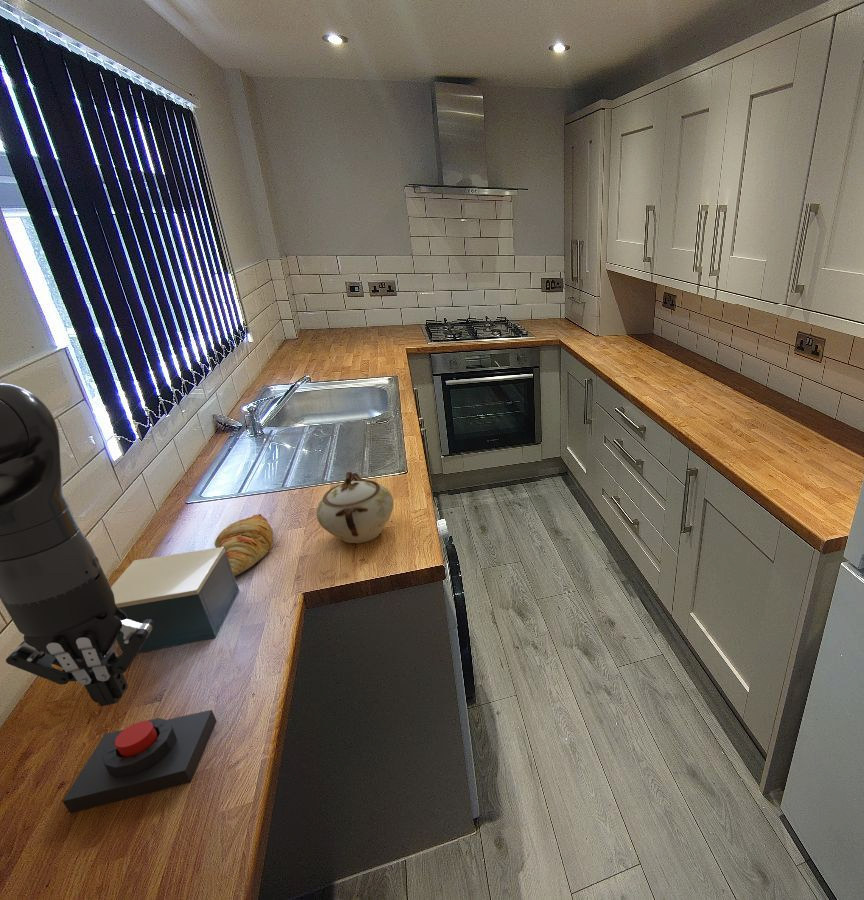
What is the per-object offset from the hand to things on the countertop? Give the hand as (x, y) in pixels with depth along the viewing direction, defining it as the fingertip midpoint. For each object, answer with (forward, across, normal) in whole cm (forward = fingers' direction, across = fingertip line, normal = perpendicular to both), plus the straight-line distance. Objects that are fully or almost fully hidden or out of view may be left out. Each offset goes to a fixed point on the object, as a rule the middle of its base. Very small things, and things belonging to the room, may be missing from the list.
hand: (114, 698), depth 61 cm
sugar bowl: (+11, +20, +49) cm, 54 cm away
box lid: (+2, -6, +29) cm, 30 cm away
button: (+8, 0, 0) cm, 8 cm away
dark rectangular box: (+11, -6, +29) cm, 32 cm away
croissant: (+12, -2, +49) cm, 50 cm away
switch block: (+11, 0, 0) cm, 11 cm away
